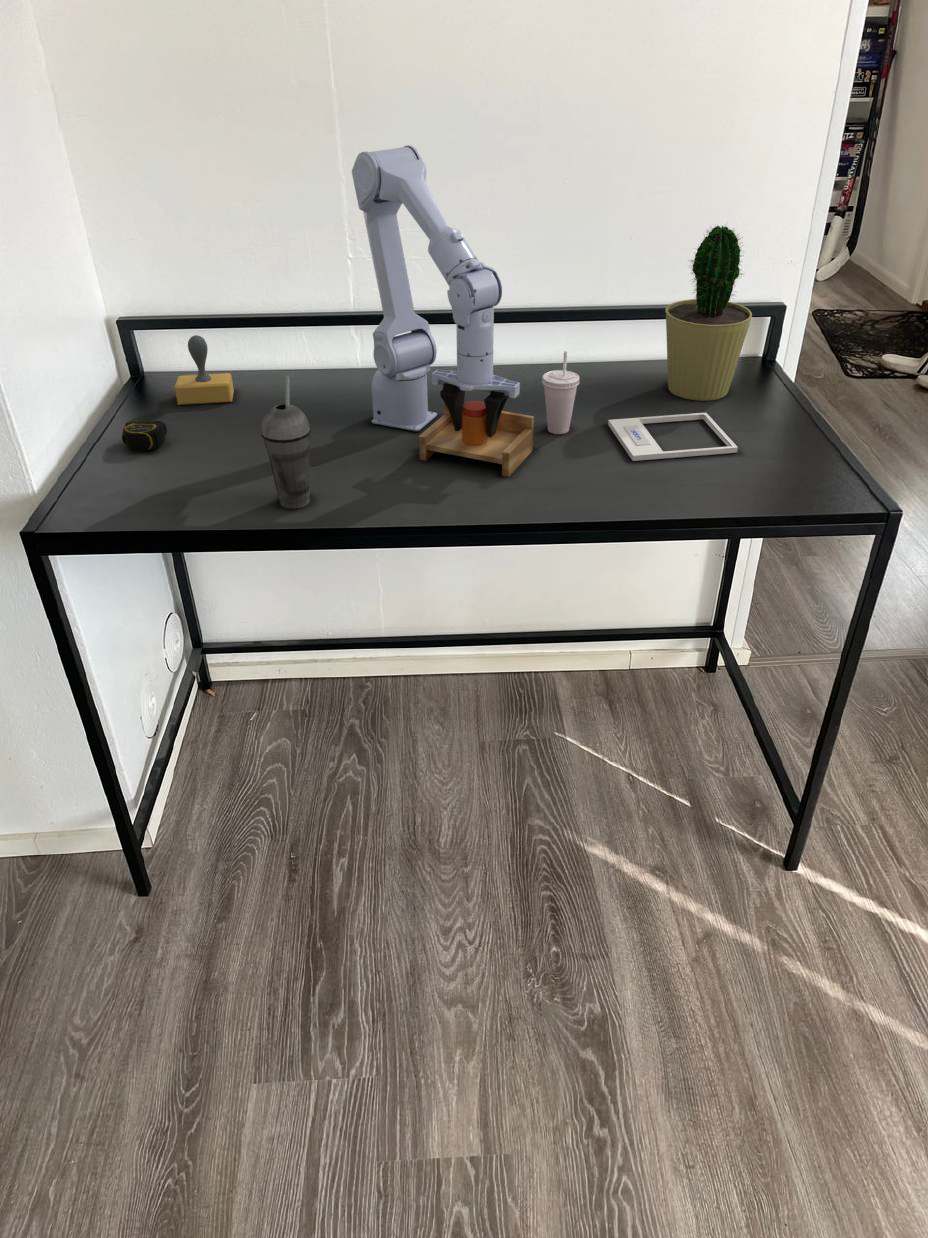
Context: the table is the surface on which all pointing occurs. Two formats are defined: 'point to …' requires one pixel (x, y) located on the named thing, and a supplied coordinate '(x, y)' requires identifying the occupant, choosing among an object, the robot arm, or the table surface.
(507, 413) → the shelf
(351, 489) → the table surface
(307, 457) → the beverage cup
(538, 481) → the table surface
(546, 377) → the smoothie
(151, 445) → the tape measure
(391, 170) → the robot arm
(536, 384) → the table surface
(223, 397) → the rubber stamp
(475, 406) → the spice bottle
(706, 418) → the photo frame
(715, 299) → the potted cactus
